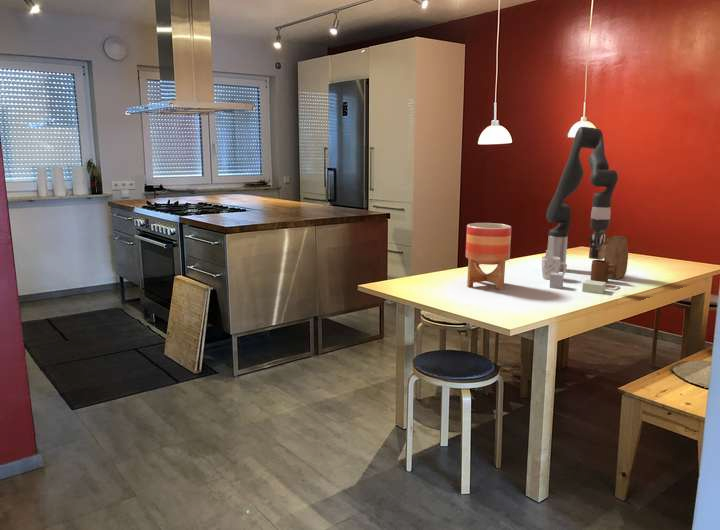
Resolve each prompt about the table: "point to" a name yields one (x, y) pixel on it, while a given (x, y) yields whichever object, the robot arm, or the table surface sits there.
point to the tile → (612, 287)
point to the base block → (594, 286)
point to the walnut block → (599, 252)
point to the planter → (487, 251)
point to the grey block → (556, 280)
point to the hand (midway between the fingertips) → (596, 257)
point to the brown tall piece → (617, 255)
